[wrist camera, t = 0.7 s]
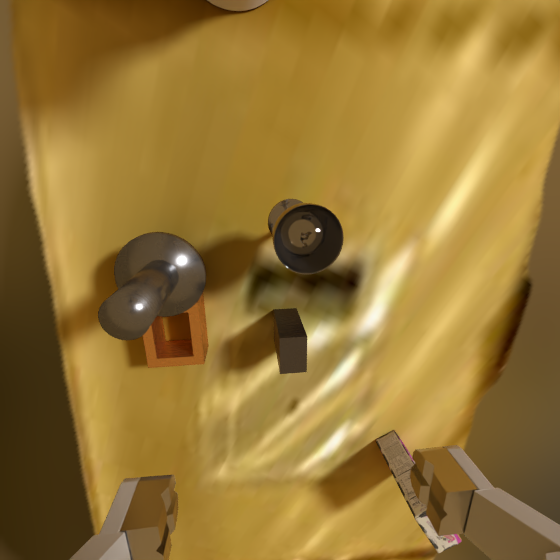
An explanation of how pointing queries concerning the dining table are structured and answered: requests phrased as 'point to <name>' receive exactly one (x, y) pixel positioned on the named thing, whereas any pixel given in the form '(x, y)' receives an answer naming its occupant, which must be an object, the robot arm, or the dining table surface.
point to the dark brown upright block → (290, 341)
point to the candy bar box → (411, 488)
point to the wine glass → (305, 235)
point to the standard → (158, 298)
